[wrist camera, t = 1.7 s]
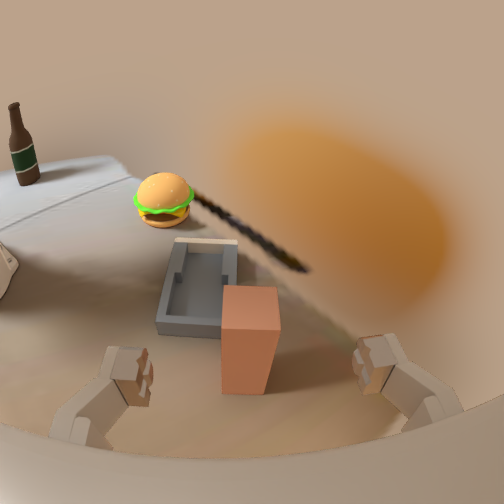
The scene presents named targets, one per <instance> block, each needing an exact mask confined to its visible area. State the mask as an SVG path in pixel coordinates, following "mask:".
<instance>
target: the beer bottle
mask: <svg viewBox="0 0 504 504" xmlns="http://www.w3.org/2000/svg"><path fill="white" fill-rule="evenodd" d="M19 106H20V104H19V103H18V102H16V103H13V104H11V105H9V106H8V109H9V111H10V120H11V129H12V133H11V136H10V139H9V147H10V152H11V156H12V160H13V164H14V168H15V172H16V175H17V179H18V182H19V184H20V186H28V185H30V184H32V183H34V182H36V181H37V180H38V179H39V178H40V172H39V167H38V163H37V159H36V154H35V150H34V145H33V141H32V137H31V135H30V134H29V132H28V131H27V130H26V129H25V128H24V125H23V122H22V118H21V114H20V109H19Z"/></svg>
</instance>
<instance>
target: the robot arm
mask: <svg viewBox="0 0 504 504" xmlns="http://www.w3.org/2000/svg"><path fill="white" fill-rule="evenodd" d="M18 266H19V263H18V262H17V260H16V259H15V258H14V257H13V256H12V255H11V254H10V253H9V252H8V251H7V250H6V248H5V247H4V246H3V245H2V244H1V243H0V298H1V297H2V296H3V294H4V293H5V291H6V289H7V287H8V285H9V282H10V279H11V277H12V275H13V273H14V272H15V271H16V269H17V268H18ZM356 345H357V349H356V350H355V351H354V352H353V356H352V367H353V371H354V374H356V375H357V376H358V377H359V380H358V382H357V383H358V386H359V388H360V391H361V394H362V395H366V394H372V393H378V392H381V394H382V395H383V396H384V397H385V398H386V399H387V400H389V401H390V402H391V403H392V404H393V405H394V406H395V407H396V408H397V409H398V410H399V411H400V412H402V413H403V414H404V415H405V416H406V417H407V418H408V419H409V420H408V421H407V422H406V424H405V425H404V426H403V428H402V430H401V431H402V433H399V434H395V435H392V436H388V437H384V438H380V439H376V440H372V441H367V442H363V443H358V444H353V445H348V446H343V447H338V448H332V449H326V450H320V451H313V452H305V453H297V454H289V455H278V456H266V457H250V458H180V457H164V456H152V455H142V454H134V453H126V452H119V451H113V447H112V445H111V444H110V443H109V442H108V441H107V440H106V439H105V437H104V436H105V435H106V433H107V432H108V431H109V430H110V429H111V427H112V426H113V425H114V424H115V423H116V421H117V420H118V419H119V418H120V417H121V415H122V414H123V413H124V412H125V411H126V409H127V408H128V406H138V407H149V401H150V395H151V393H150V390H149V387H150V386H151V385H152V383H153V366H152V363H151V361H150V360H148V359H147V358H148V352H147V349H146V348H137V347H122V346H109V347H108V348H107V349H106V352H105V355H104V358H103V361H102V365H101V368H100V371H99V374H98V377H97V378H93V379H92V380H91V381H90V382H89V383H87V384H86V385H85V386H84V387H83V388H82V389H81V390H79V391H78V392H77V393H76V394H75V395H74V396H73V397H71V398H70V399H69V400H68V401H67V402H66V403H65V404H63V405H62V406H61V407H60V408H59V409H58V410H57V411H56V413H55V416H54V419H53V423H52V426H51V429H50V432H49V436H48V437H46V436H42V435H39V434H35V433H32V432H29V431H25V430H22V429H19V428H16V427H13V426H10V425H7V424H4V423H2V422H0V504H504V394H503V395H500V396H498V397H496V398H494V399H492V400H490V401H488V402H485V403H483V404H481V405H479V406H476V407H474V408H472V409H469V410H467V411H464V410H463V408H462V406H461V404H460V402H459V400H458V398H457V396H456V394H455V392H454V390H453V388H451V387H450V386H448V385H446V384H445V383H444V382H442V381H441V380H439V379H438V378H436V377H435V376H433V375H432V374H430V373H429V372H428V371H426V370H424V369H423V368H422V367H420V366H418V365H417V364H416V363H414V362H413V361H412V362H409V360H408V358H407V356H406V354H405V352H404V350H403V348H402V346H401V344H400V342H399V340H398V338H397V337H396V335H395V334H394V333H389V334H383V335H375V336H368V337H361V338H359V339H358V341H357V343H356Z"/></svg>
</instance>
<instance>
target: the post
mask: <svg viewBox="0 0 504 504" xmlns="http://www.w3.org/2000/svg"><path fill="white" fill-rule="evenodd" d="M280 332H281V325H280V315H279V304H278V294H277V287H261V286H236V285H224V291H223V308H222V326H221V366H222V394H247V395H263V394H264V391H265V387H266V384H267V380H268V377H269V373H270V369H271V366H272V362H273V358H274V355H275V351H276V347H277V343H278V340H279V336H280Z"/></svg>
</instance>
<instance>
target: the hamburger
mask: <svg viewBox="0 0 504 504" xmlns="http://www.w3.org/2000/svg"><path fill="white" fill-rule="evenodd" d="M193 198H194V191H193V190H192V189H191V187H190V186H189V185H188V184H187V183H186V181H185V180H184V179H183V178H181V177H180V176H178V175H176V174H173V173H158V174H154V175H152V176H150V177H148V178H147V179H146V180H144V181H143V182H142V183H141V185H140V187H139V189H138V191H137V193H136V195H135V196H134V204H135V205H136V206H137V207H138V212H139V215H140V217H141V218H142V219H143V221H144V222H145V223H147V224H148V225H150V226H154V227H161V228H162V227H171V226H174V225H177V224H179V223H181V222H182V221H184V220H185V219H186V217H187V216H188V214H189V212H190V206H189V203H190V202H191V201H192V200H193Z"/></svg>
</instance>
